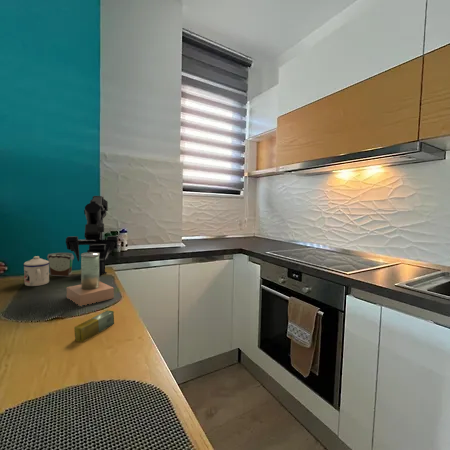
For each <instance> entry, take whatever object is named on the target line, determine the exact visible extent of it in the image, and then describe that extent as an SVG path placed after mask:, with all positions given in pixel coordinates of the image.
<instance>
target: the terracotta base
mask: <svg viewBox="0 0 450 450" xmlns="http://www.w3.org/2000/svg"><path fill="white" fill-rule="evenodd" d="M114 292H115V288H114V287H113V286H111V285H109V284H106V283H104V282H102V281H100V280H99V287H98V288H96V289H92V290H84V289H81V284H77V285H70V286H67V287H66V299H68V298H69V299H70V301H71V300H72V301H73V302H72V301H71V302H72V303H74V302H75V303H74V304H76V305H77V304H78V305H77V306H79V305H80V306H81V307H83V306H82V305H85V306H88V305H87V304H89V305H93V304H96V302H97V303H100V302H104V301H107V300H108V301H109V300H111V299H114V298H115V296H114V295H115V293H114ZM69 299H68V300H69ZM92 303H93V304H92ZM80 306H79V307H80Z"/></svg>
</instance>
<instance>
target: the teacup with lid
mask: <svg viewBox="0 0 450 450" xmlns="http://www.w3.org/2000/svg"><path fill="white" fill-rule="evenodd" d="M23 271H24V272H23V273H24V274H23V275H24V277H23V279H24V286H27V287H38V286H43V285H46V284H48V283H49V282H50V269H49V261H48V259H47V260H46V259H43V258H42V257H41V258H40V256H39V255H37V256H36V255H35V256H33V258H32V259H29V260H27V261H25V262H24V263H23Z"/></svg>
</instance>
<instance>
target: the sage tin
mask: <svg viewBox="0 0 450 450" xmlns="http://www.w3.org/2000/svg"><path fill="white" fill-rule="evenodd" d="M99 255H100V253H98V252H83V253H80V260H81V261H80V262H81V263H80V269H81V271H80V273H81V274H80V279H81V280H80V285H81V289H84V290H92V289H96V288H98V287H99V281H100V275H99Z"/></svg>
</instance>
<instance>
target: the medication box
mask: <svg viewBox="0 0 450 450" xmlns="http://www.w3.org/2000/svg"><path fill="white" fill-rule="evenodd" d="M114 313H115V311H114V310H104V311H103V312H101V313H99V314H97V315H96V316H94V317H92V318H89V319H88V320H85V321H83V322H81V323H80V324H78V325H76V326H74V341H76V342H81V343H83V342H85V341H86V340H88V339H90V338H92V337H94V336H96V335H97V334H99V333H101V332H102V331H104V330H107V329H108V328H110V327H111V326H113V325H115V316H114V315H115V314H114Z"/></svg>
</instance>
